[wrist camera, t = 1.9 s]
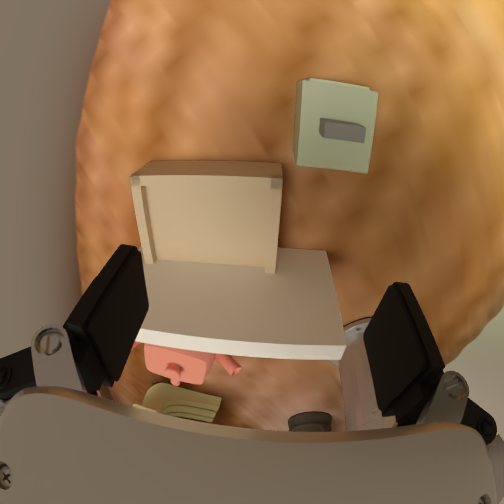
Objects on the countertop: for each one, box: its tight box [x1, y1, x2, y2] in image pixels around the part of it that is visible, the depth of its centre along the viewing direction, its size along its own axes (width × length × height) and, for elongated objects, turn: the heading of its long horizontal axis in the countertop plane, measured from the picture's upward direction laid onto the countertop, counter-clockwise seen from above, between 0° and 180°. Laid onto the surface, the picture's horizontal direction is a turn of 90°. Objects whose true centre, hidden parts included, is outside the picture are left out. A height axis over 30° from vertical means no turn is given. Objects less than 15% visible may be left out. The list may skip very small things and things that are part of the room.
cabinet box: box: [293, 78, 378, 174], centre depth 21 cm, size 6×7×8 cm
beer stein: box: [288, 412, 332, 432], centre depth 52 cm, size 15×11×20 cm
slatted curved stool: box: [133, 383, 222, 422], centre depth 50 cm, size 30×16×18 cm, turn 164°
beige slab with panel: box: [130, 160, 347, 360], centre depth 25 cm, size 22×12×14 cm, turn 88°
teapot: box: [131, 341, 242, 386], centre depth 37 cm, size 14×12×10 cm
